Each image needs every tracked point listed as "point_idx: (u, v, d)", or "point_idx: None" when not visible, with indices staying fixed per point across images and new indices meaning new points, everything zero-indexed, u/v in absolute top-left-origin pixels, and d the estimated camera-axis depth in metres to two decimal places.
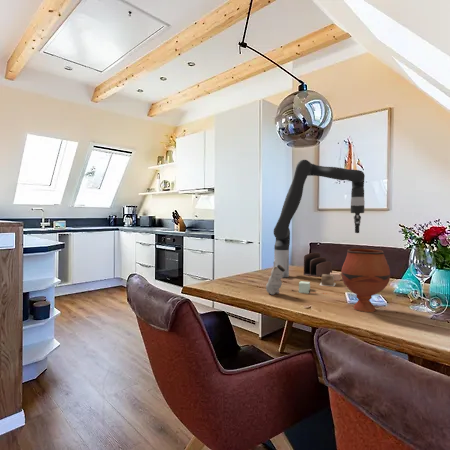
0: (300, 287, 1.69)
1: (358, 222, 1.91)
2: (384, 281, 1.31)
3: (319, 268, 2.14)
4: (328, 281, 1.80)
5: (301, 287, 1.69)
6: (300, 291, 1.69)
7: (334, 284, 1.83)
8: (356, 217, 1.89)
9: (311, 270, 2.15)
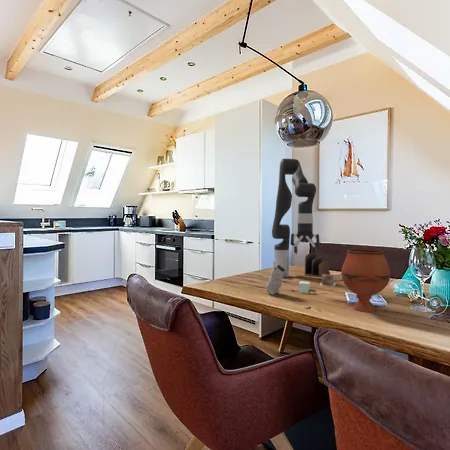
0: (300, 287, 1.69)
1: (313, 242, 1.69)
2: (384, 281, 1.31)
3: (321, 268, 2.14)
4: (328, 281, 1.80)
5: (301, 287, 1.69)
6: (300, 291, 1.69)
7: (334, 284, 1.83)
8: (318, 237, 1.67)
9: (313, 270, 2.14)
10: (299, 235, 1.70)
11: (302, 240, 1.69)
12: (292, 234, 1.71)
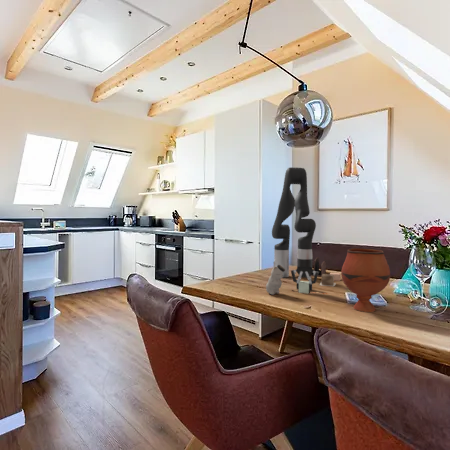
0: (300, 287, 1.69)
1: (310, 279, 1.70)
2: (384, 281, 1.31)
3: (322, 268, 2.14)
4: (328, 281, 1.80)
5: (301, 287, 1.69)
6: (300, 291, 1.69)
7: (334, 284, 1.83)
8: (317, 275, 1.67)
9: (314, 270, 2.14)
10: (298, 271, 1.70)
11: (303, 275, 1.69)
12: (292, 271, 1.71)
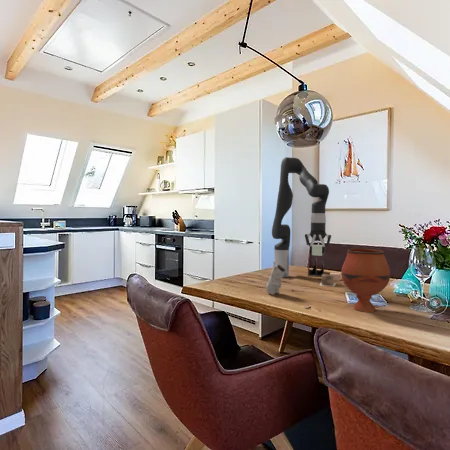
0: (313, 250, 1.76)
1: (323, 242, 1.77)
2: (384, 281, 1.31)
3: (323, 267, 2.15)
4: (328, 281, 1.80)
5: (314, 250, 1.76)
6: (313, 253, 1.76)
7: (334, 284, 1.83)
8: (330, 238, 1.74)
9: (316, 270, 2.13)
10: (312, 235, 1.77)
11: (316, 238, 1.77)
12: (305, 234, 1.78)
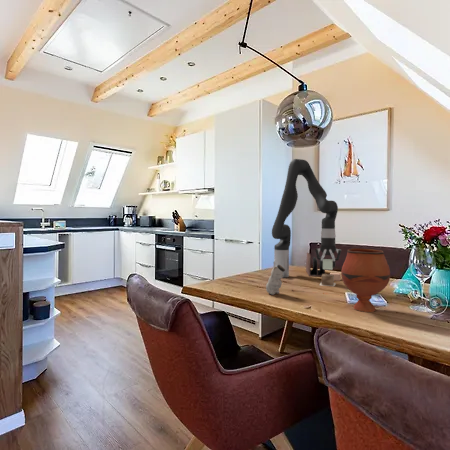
0: (324, 264, 1.81)
1: None
2: (384, 281, 1.31)
3: None
4: (328, 281, 1.80)
5: (325, 264, 1.81)
6: (324, 267, 1.81)
7: (334, 284, 1.83)
8: (340, 252, 1.80)
9: None
10: (322, 249, 1.83)
11: (326, 253, 1.82)
12: (316, 249, 1.84)
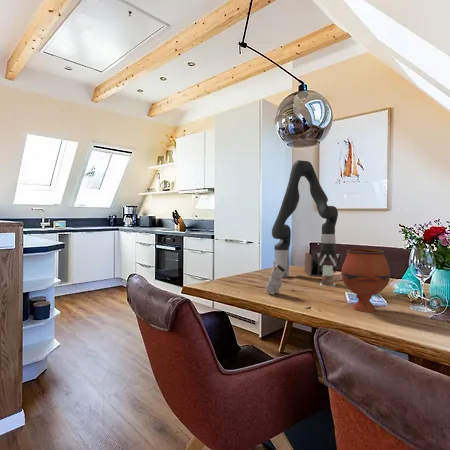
0: (324, 270, 1.82)
1: (334, 261, 1.82)
2: (384, 281, 1.31)
3: None
4: (328, 281, 1.80)
5: (325, 270, 1.81)
6: (324, 274, 1.82)
7: (334, 284, 1.83)
8: (340, 257, 1.80)
9: None
10: (322, 254, 1.83)
11: (326, 258, 1.82)
12: (316, 254, 1.84)
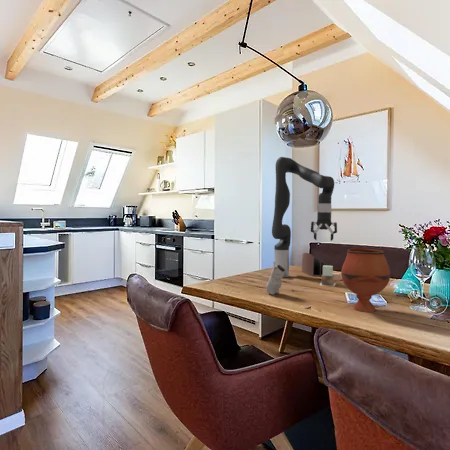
0: (324, 270, 1.82)
1: (331, 229, 1.87)
2: (384, 281, 1.31)
3: None
4: (328, 281, 1.80)
5: (325, 270, 1.81)
6: (324, 274, 1.82)
7: (334, 284, 1.83)
8: (336, 224, 1.85)
9: None
10: (319, 223, 1.88)
11: (321, 227, 1.88)
12: (312, 222, 1.89)
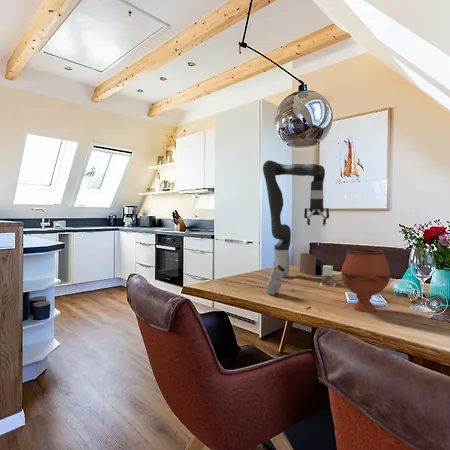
0: (324, 270, 1.82)
1: (323, 215, 1.98)
2: (384, 281, 1.31)
3: None
4: (328, 281, 1.80)
5: (325, 270, 1.81)
6: (324, 274, 1.82)
7: (334, 284, 1.83)
8: (328, 210, 1.96)
9: None
10: (311, 209, 1.99)
11: (314, 213, 1.99)
12: (305, 208, 2.00)
